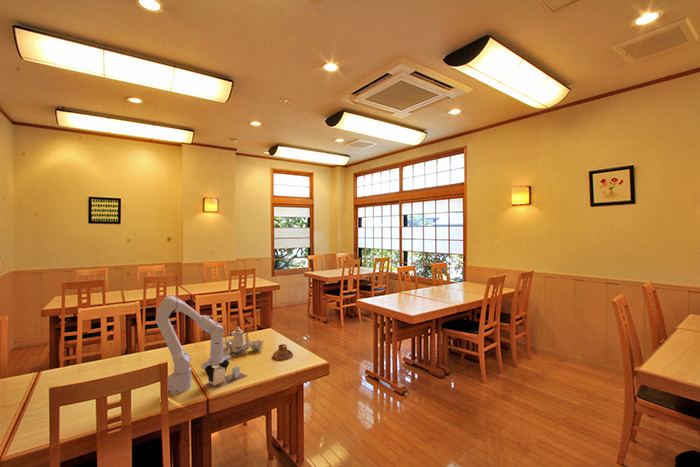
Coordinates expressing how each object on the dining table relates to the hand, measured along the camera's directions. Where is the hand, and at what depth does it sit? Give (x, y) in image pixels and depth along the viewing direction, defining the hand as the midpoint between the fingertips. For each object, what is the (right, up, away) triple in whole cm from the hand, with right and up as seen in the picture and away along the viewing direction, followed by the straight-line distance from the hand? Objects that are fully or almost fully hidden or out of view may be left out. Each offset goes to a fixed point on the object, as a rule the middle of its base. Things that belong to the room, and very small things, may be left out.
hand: (216, 379), depth 153 cm
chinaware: (-4, -4, +45) cm, 46 cm away
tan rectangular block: (0, -1, 0) cm, 1 cm away
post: (+7, -3, +5) cm, 9 cm away
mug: (-7, -3, +18) cm, 19 cm away
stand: (+4, -3, +3) cm, 5 cm away
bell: (+24, -4, +36) cm, 44 cm away
